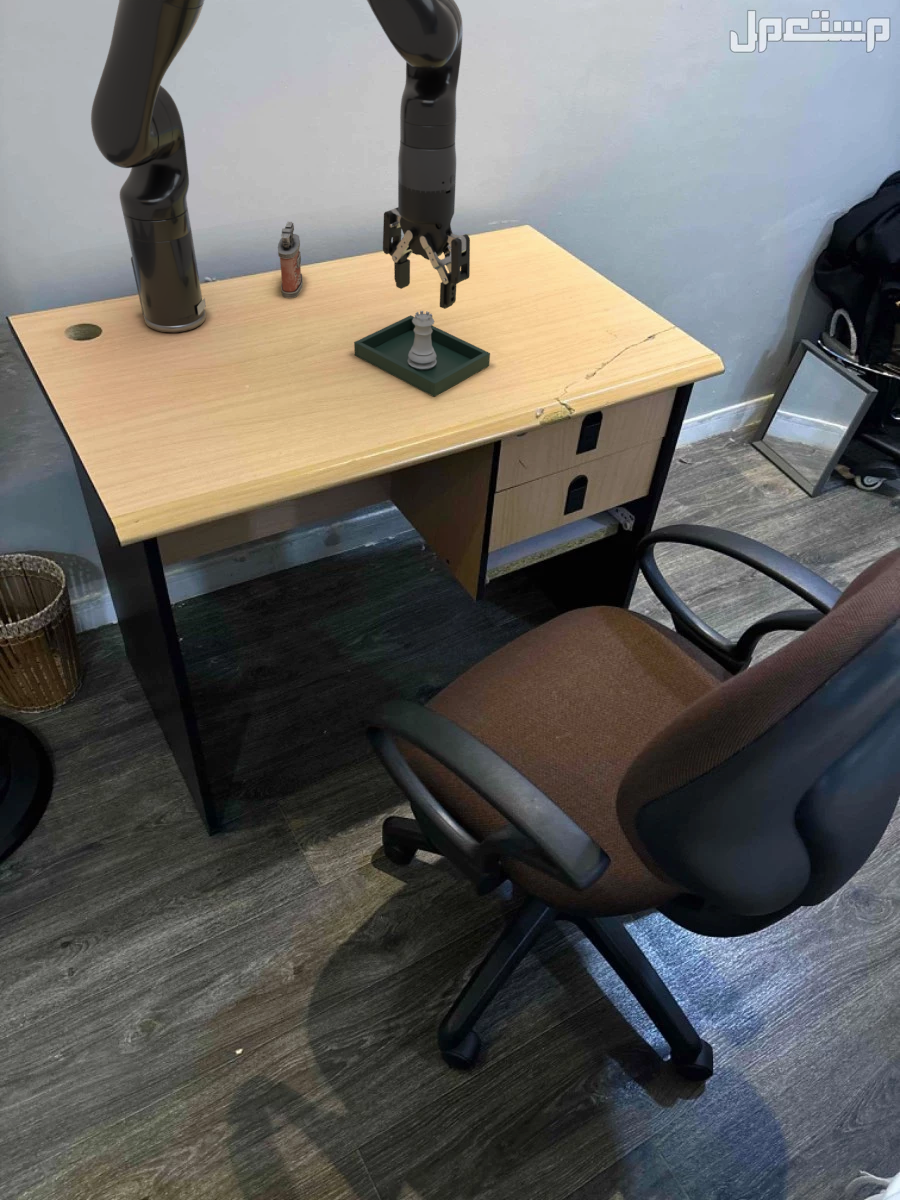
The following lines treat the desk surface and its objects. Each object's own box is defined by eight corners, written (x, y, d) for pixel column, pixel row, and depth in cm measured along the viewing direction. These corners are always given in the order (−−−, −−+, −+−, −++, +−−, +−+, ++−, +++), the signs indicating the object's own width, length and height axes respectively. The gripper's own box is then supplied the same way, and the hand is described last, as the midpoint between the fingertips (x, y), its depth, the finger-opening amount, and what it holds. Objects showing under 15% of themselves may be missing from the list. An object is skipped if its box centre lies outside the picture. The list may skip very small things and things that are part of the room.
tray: (354, 355, 135) (353, 342, 133) (410, 327, 142) (410, 314, 140) (434, 397, 127) (434, 383, 126) (489, 365, 134) (490, 353, 133)
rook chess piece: (442, 364, 133) (445, 315, 128) (422, 374, 131) (423, 325, 125) (421, 353, 135) (423, 304, 130) (401, 363, 133) (401, 314, 127)
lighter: (299, 298, 147) (294, 238, 140) (278, 297, 147) (273, 237, 140) (305, 277, 153) (301, 219, 145) (285, 276, 152) (280, 217, 145)
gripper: (367, 170, 115) (370, 288, 127) (448, 200, 109) (444, 322, 120) (407, 157, 119) (406, 272, 131) (487, 185, 113) (479, 304, 124)
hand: (424, 296), depth 125 cm, fingers open, 8 cm apart
